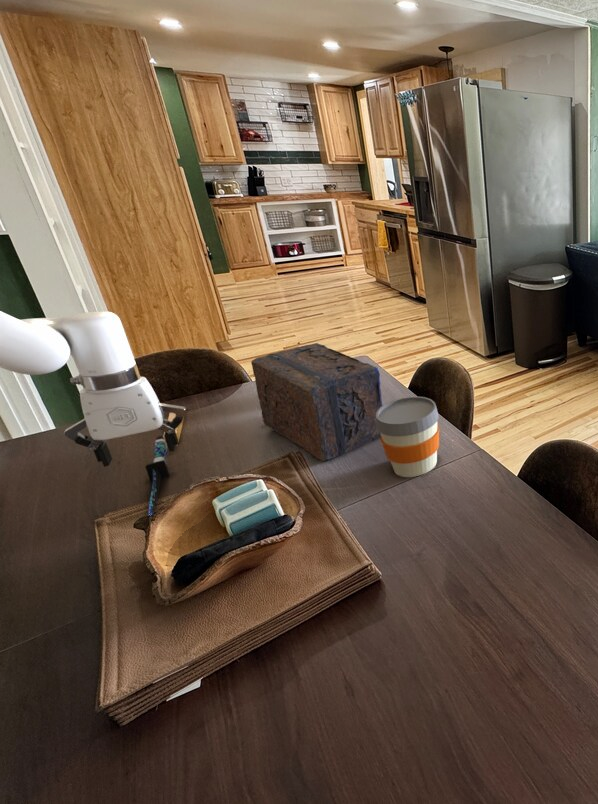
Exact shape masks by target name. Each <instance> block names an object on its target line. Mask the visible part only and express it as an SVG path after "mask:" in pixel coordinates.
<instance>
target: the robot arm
mask: <svg viewBox="0 0 598 804" xmlns="http://www.w3.org/2000/svg"><path fill="white" fill-rule="evenodd" d="M70 356H71V357H72V359H73V361H74V365H75V367H76V369H77V371H78V375H76V376H74V377H69V381H70V384H71V385H72V386H75V385H78V386H79V385H81V387H82V389H81V390H80V391H79V397H80V406H81V410H82V413H83V419H81V420H79V421H78V422H76V423H74V424H72V425H71V426H69V427H67V428H66V429H65V430H64V432H63V435H64V436H65V437H66V438H68V439H70V440H71V441H74V443H75V444H77V445H79V446H83V447H86V448H88V449H89V450H91V451H93V454H94V456H95V458H96V461H97V462H98V463H101V464H102V466H103V467H104V468H105V467H109V466H110V465H111V462H112V460H113V456H112V454H111V451H110V449H109V446H108V444H107V442H105V441H108V440H114V439H119V438H124V437H128V436H134V435H138V434H143V433H148V432H151V431H155V430H160V431H162V432H165V434H164V433H163V435H164V437H165V440H166V443H167V446H168V448H167V450H168V451H169V452H175V450H176V447H177V446H176V445H178V446H179V443H180V441H179V442H178V438H177V435H176V432H175V429H176V428H177V427H178V426H179V425H180V423H181V422H182V420H183V417H184V418H185V415H184V414H186V412H187V407H186V406H182V405H176V404H169V403H162V402H160V400H159V398H158V396H157V394H156V392H155V391H154V388H153V387H152V384H150V382H149V380H148V379H147V378H146V377H145V376H141V374H140V370H139V368H138V365H137V363H136V362H137V361H136V360H135V357H134V354H133V351H132V348H131V346H130V342H129V340H128V337H127V334H126V331H125V328H124V326H123V324H122V321H121V318H120V317H119V316H118V315H117V314H116V313H114V312H111V311H103V310H102V311H88V312H80V313H75V314H72V315H69V316H60V317H38V318H37V317H36V318H23V319H19V318H16V317H14V316H12V315H10V314H8V313H6V312H3V311H1V310H0V368H1V369H3V370H6V371H10V372H13V373H17V374H21V375H28V376H40V375H41V376H42V375H45V374H51V373H53V372H56V371H58V370H60V369H61V368H62V367H64V366H65V365H66V363H67V362H68V361H69V358H70ZM165 413H169V414H170V413H175V414H176V416H175V418H174V419H173V420H172V421H169V420H168V418H165ZM183 421H184V420H183ZM86 428H87V430H88V433H89V435H90V436H89V435H86V434H83V433H81V432H80V431H83V430H84V429H86Z"/></svg>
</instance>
